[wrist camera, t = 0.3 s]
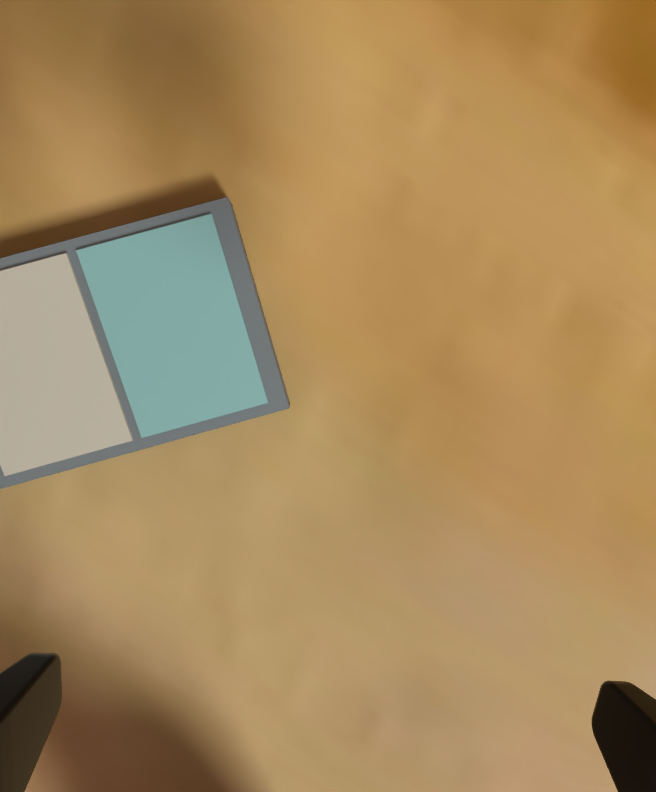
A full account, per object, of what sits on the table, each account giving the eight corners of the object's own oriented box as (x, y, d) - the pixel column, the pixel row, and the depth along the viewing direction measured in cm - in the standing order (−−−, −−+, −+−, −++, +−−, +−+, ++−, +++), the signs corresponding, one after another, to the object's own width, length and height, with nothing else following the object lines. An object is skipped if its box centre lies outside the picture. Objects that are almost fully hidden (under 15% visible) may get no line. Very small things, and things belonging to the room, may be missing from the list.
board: (232, 204, 20) (227, 196, 18) (289, 403, 21) (289, 408, 20) (-209, 323, 19) (-246, 323, 18) (-119, 517, 21) (-148, 530, 20)
